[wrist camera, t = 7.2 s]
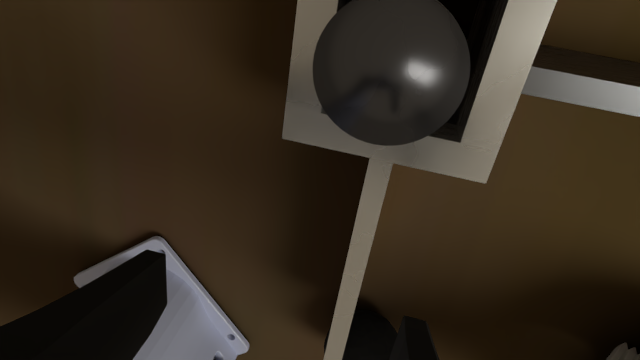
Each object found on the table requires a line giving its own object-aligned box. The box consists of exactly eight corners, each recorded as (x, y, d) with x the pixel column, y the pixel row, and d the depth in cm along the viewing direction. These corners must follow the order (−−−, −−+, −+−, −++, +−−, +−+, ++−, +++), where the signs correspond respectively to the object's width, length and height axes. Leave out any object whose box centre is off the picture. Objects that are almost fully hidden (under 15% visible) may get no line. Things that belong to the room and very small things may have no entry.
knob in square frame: (612, 363, 23) (659, 462, 18) (286, 280, 25) (257, 351, 20) (873, 3, 14) (1083, 25, 10) (339, -85, 16) (308, -100, 11)
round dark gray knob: (463, 45, 17) (495, 106, 10) (378, 90, 19) (357, 167, 12) (422, -47, 16) (428, -47, 9) (335, 8, 17) (284, 42, 11)
